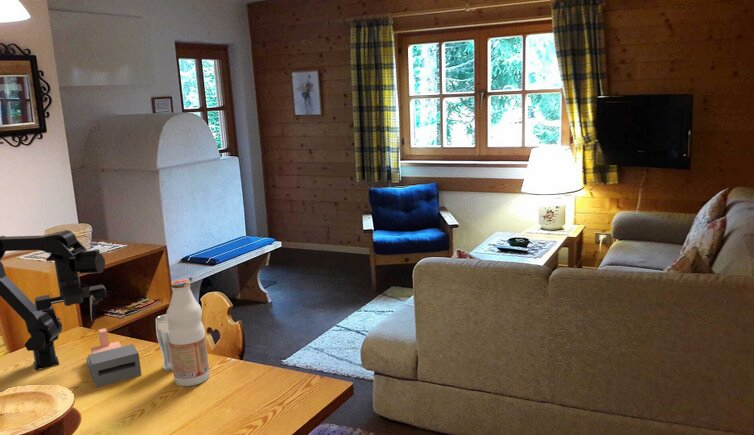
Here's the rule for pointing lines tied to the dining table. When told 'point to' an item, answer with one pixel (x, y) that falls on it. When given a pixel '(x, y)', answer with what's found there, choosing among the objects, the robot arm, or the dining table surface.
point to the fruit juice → (187, 336)
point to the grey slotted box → (114, 365)
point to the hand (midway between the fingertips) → (75, 324)
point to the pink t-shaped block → (105, 343)
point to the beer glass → (164, 341)
